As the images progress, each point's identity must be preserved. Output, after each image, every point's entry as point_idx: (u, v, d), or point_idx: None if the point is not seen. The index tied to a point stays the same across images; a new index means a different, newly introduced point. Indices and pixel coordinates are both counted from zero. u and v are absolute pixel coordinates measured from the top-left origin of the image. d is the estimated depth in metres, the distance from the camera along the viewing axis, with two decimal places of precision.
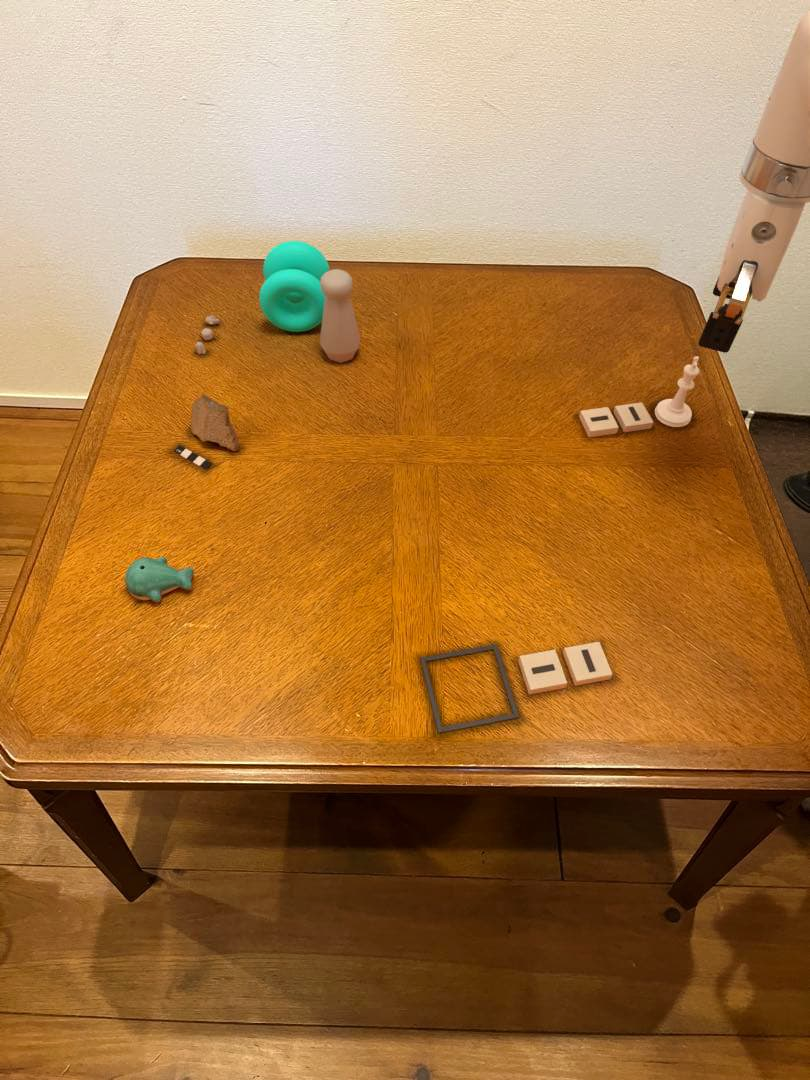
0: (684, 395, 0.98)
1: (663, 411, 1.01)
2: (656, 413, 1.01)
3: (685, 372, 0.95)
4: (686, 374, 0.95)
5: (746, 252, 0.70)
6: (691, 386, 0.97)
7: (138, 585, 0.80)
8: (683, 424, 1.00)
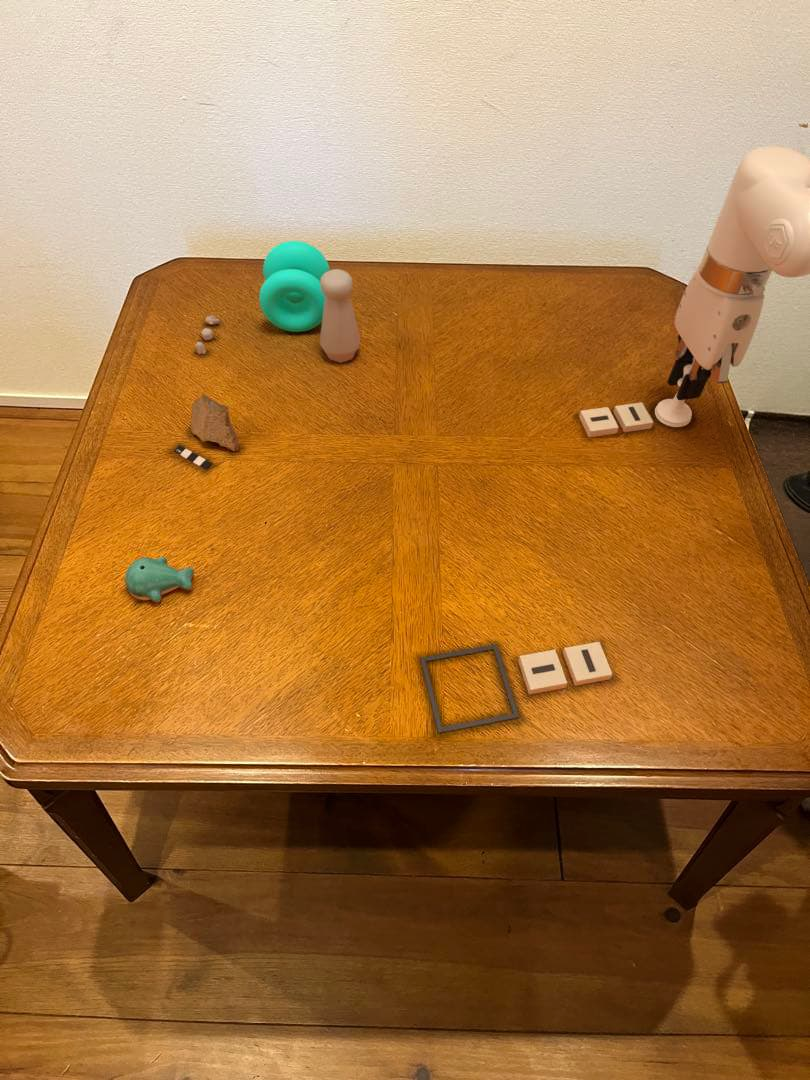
0: None
1: (663, 411, 1.01)
2: (656, 413, 1.01)
3: (685, 372, 0.95)
4: None
5: (729, 339, 0.85)
6: None
7: (138, 585, 0.80)
8: (683, 424, 1.00)
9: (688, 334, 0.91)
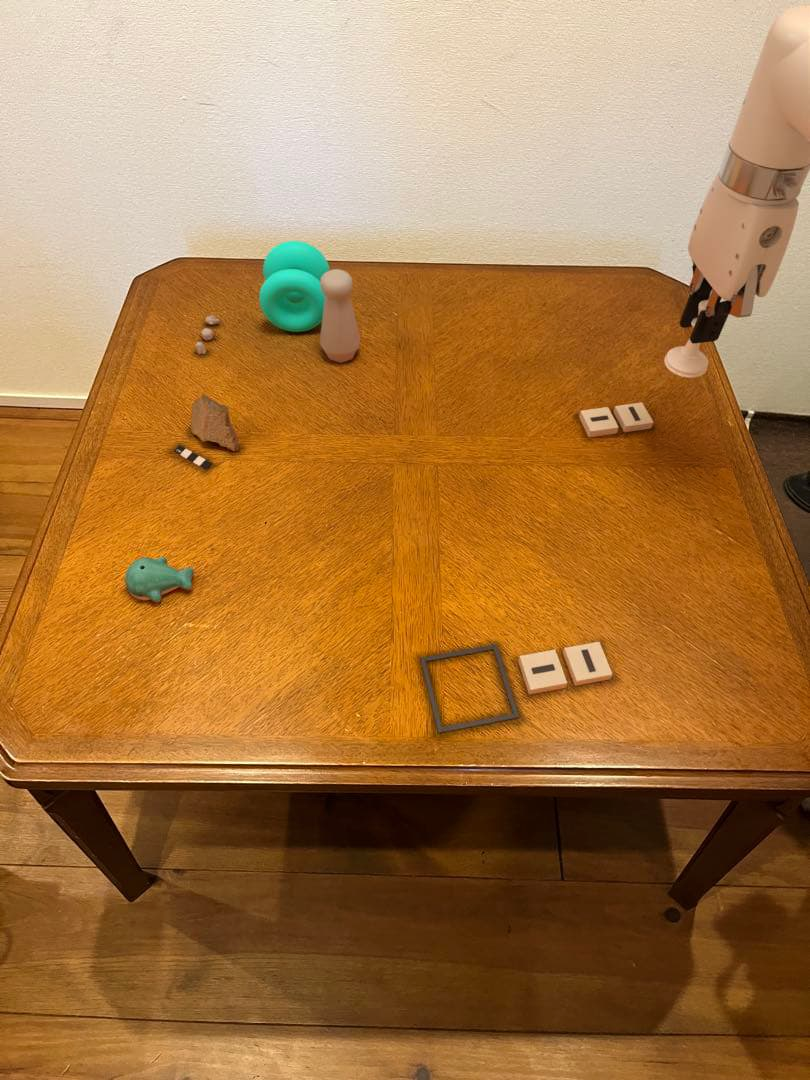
0: None
1: (674, 359, 0.86)
2: (666, 362, 0.86)
3: (700, 309, 0.80)
4: None
5: (755, 258, 0.70)
6: None
7: (138, 585, 0.80)
8: (698, 374, 0.85)
9: (705, 259, 0.76)
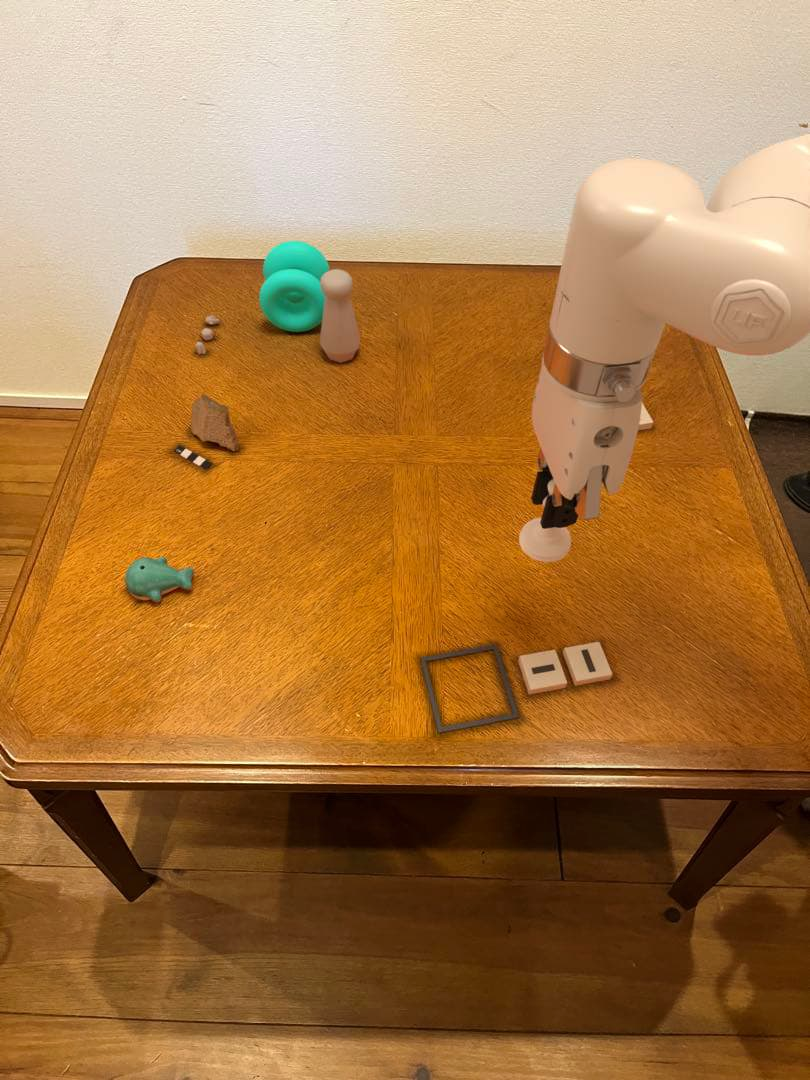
0: None
1: (529, 538, 0.69)
2: (520, 540, 0.70)
3: (549, 491, 0.64)
4: (551, 494, 0.64)
5: (593, 460, 0.54)
6: None
7: (138, 585, 0.80)
8: (557, 558, 0.69)
9: (544, 442, 0.60)
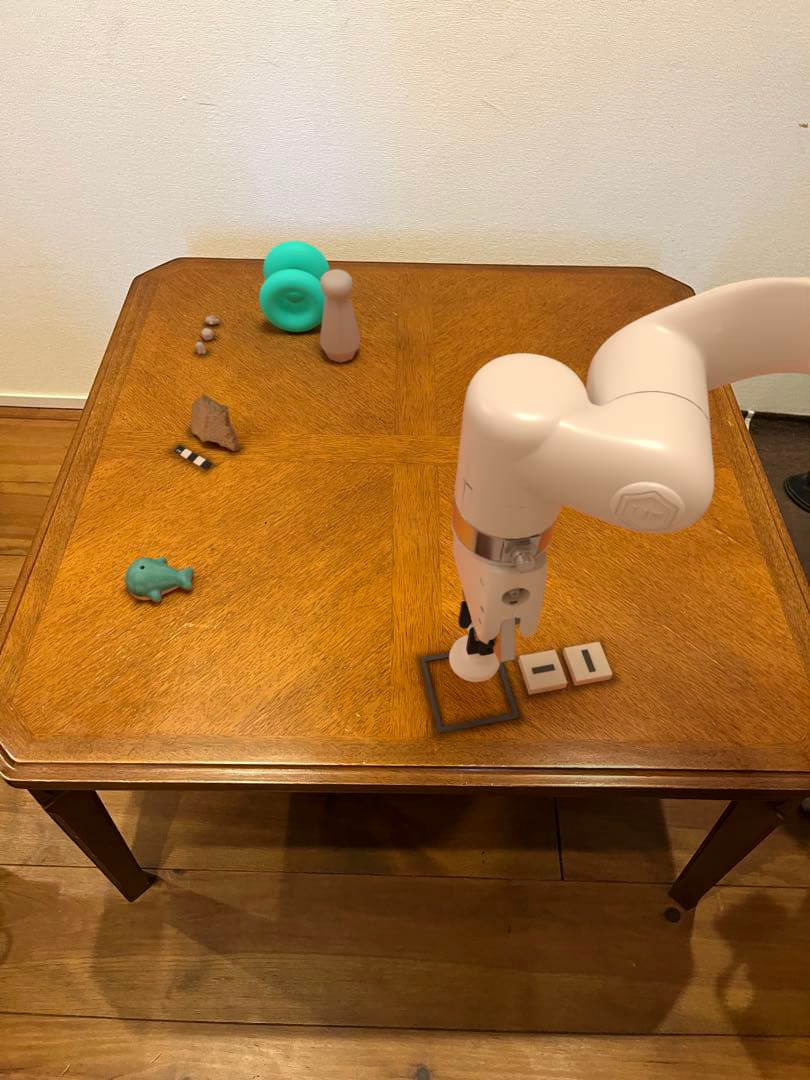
0: None
1: (458, 658, 0.70)
2: (450, 658, 0.71)
3: None
4: None
5: (503, 614, 0.55)
6: None
7: (138, 585, 0.80)
8: (485, 678, 0.70)
9: (462, 583, 0.61)
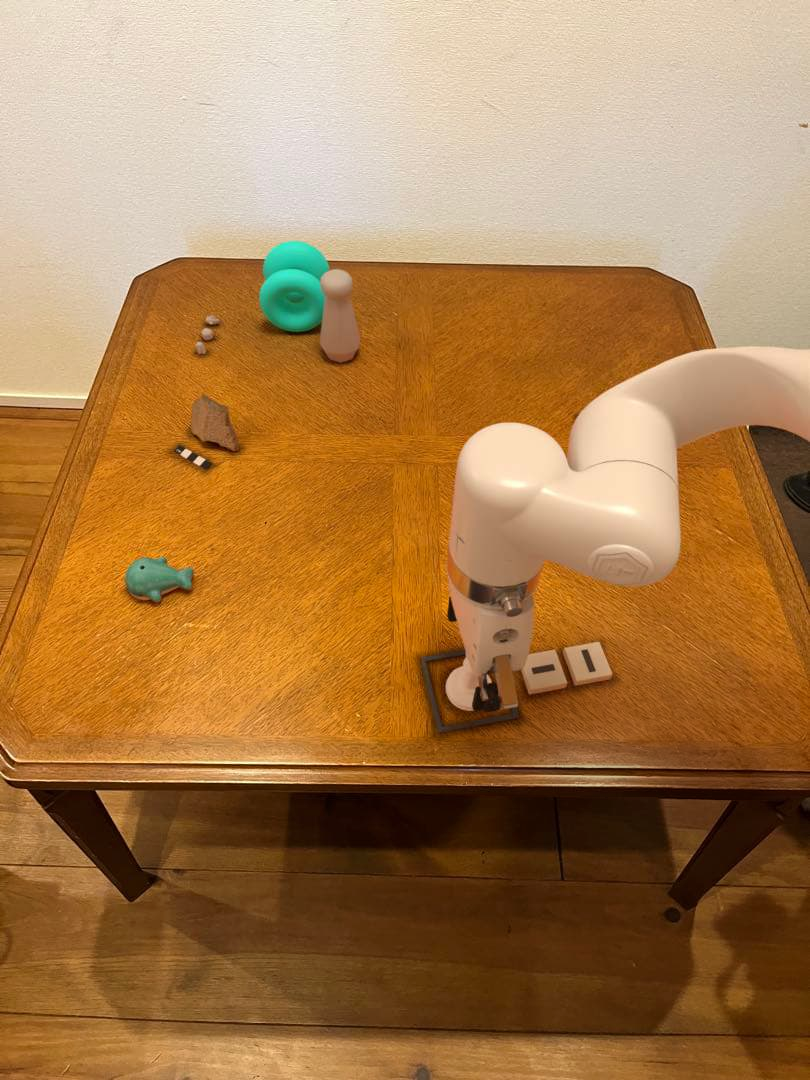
0: (475, 677, 0.73)
1: (453, 688, 0.76)
2: (446, 688, 0.77)
3: None
4: None
5: (494, 652, 0.60)
6: None
7: (138, 585, 0.80)
8: None
9: (457, 619, 0.65)
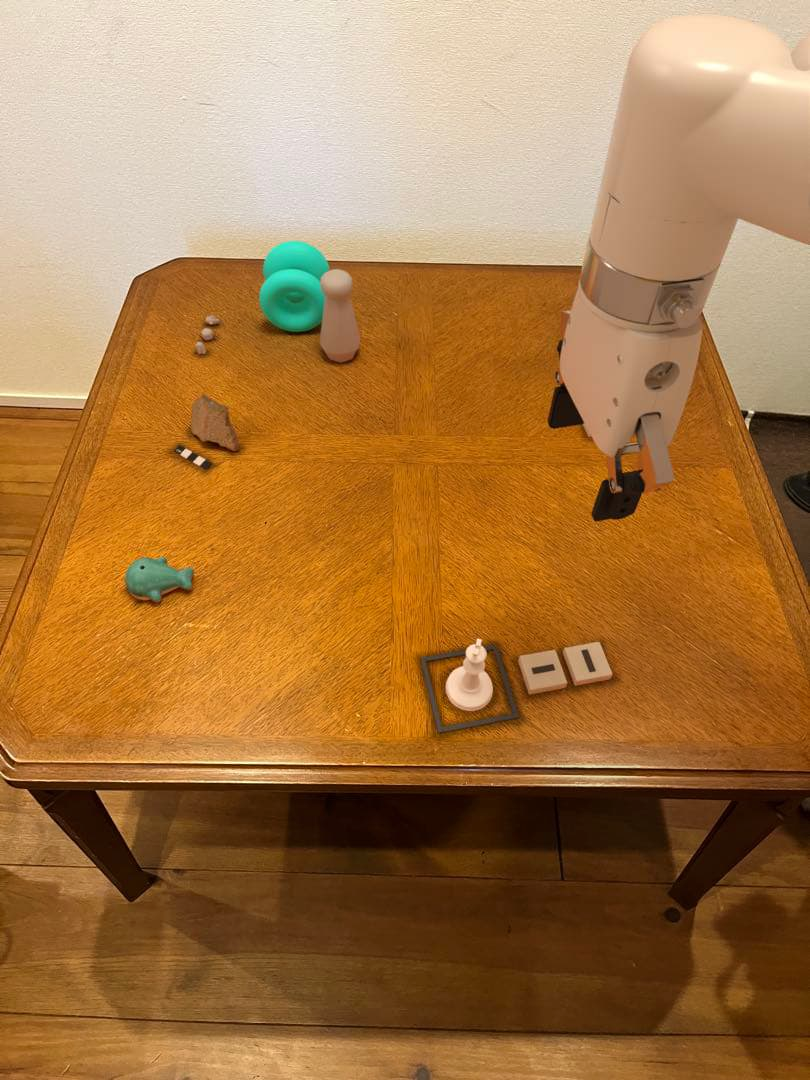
0: (475, 677, 0.73)
1: (453, 688, 0.76)
2: (446, 688, 0.77)
3: (467, 657, 0.70)
4: (468, 660, 0.70)
5: (642, 406, 0.45)
6: (479, 670, 0.72)
7: (138, 585, 0.80)
8: (479, 707, 0.75)
9: (578, 391, 0.51)
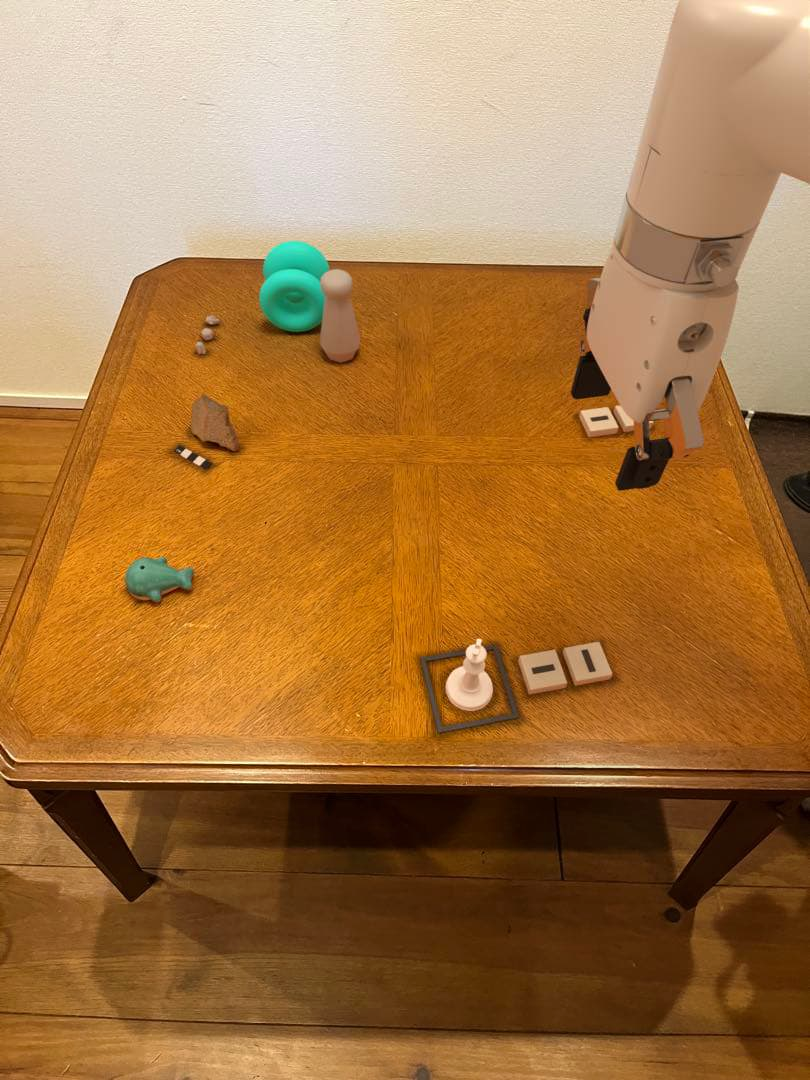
0: (475, 677, 0.73)
1: (453, 688, 0.76)
2: (446, 688, 0.77)
3: (467, 657, 0.70)
4: (468, 660, 0.70)
5: (674, 369, 0.45)
6: (479, 670, 0.72)
7: (138, 585, 0.80)
8: (479, 707, 0.75)
9: (606, 357, 0.50)
